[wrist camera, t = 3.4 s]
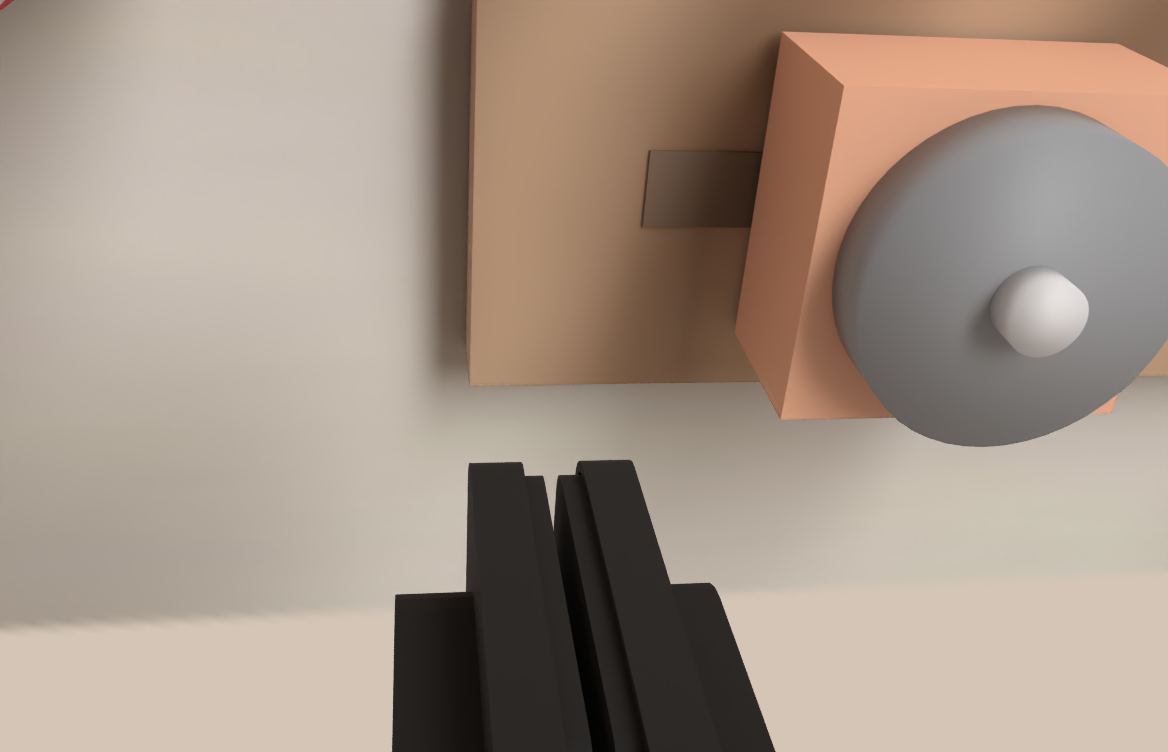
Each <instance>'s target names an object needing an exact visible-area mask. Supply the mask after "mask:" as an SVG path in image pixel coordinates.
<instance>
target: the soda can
mask: <svg viewBox="0 0 1168 752" xmlns="http://www.w3.org/2000/svg"><path fill="white" fill-rule="evenodd" d="M12 1H13V0H0V10H1V9H3V8H4V7H5V6H7V5H8V4H9V3H10V2H12Z"/></svg>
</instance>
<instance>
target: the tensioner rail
mask: <svg viewBox="0 0 1168 752" xmlns="http://www.w3.org/2000/svg"><path fill="white" fill-rule="evenodd" d="M782 31H783V32H810V33H838V34H866V35H893V36H921V37H948V38H976V39H1004V40H1031V41H1059V42H1086V43H1114V44H1120V45H1122V46H1124V47H1126V48H1128V49H1130V50H1132V51H1134V52H1136V53H1138V54H1140V55H1143V56H1145V57H1147V58H1149V59H1151V60H1153V61H1155V62H1157V63H1159V64H1161V65H1163V66H1165V67H1167V68H1168V0H472V4H471V63H470V122H469V181H468V240H467V300H466V354H467V364H468V374H469V384H470V386H493V385H560V384H627V383H695V382H760V380H759V378H758V376H757V374H756V372H755V370H754V368H753V366H752V365H751V363H750V361H749V359H748V357H747V355H746V353H745V351H744V349H743V348H742V346H741V344H740V342H739V340H738V338H737V336H736V334H735V327H736V320H737V314H738V308H739V301H740V295H741V289H742V282H743V276H744V270H745V263H746V257H747V251H748V244H749V238H750V232H751V225H752V219H753V213H754V206H755V200H756V194H757V187H758V181H759V175H760V168H761V162H762V155H763V149H764V143H765V136H766V130H767V124H768V117H769V111H770V105H771V98H772V92H773V86H774V79H775V73H776V67H777V60H778V54H779V48H780V41H781V35H782ZM1166 375H1168V339H1167V341H1166V342H1165V344H1164V345H1163V346H1162V348H1161V349H1160V350H1159V352H1158V353H1157V354H1156V356H1155V357H1154V358H1153V360H1152V361H1151V362H1150V363H1149V364H1148V365H1147V366H1146V367H1145V369H1144V370H1143V371H1142V372H1141V373H1140V374H1139V375H1138V376H1166Z"/></svg>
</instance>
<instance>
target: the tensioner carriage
mask: <svg viewBox="0 0 1168 752" xmlns="http://www.w3.org/2000/svg"><path fill="white" fill-rule="evenodd" d="M735 334H736V336H737V338H738V340H739V342H740V344H741V346H742V348H743V349H744V351H745V353H746V355H747V357H748V359H749V361H750V363H751V365H752V366H753V368H754V370H755V372H756V374H757V376H758V378H759V380H760V382H761V384H762V385H763V387H764V389H765V391H766V393H767V395H768V397H769V399H770V401H771V402H772V404H773V406H774V408H775V410H776V412H777V414H778V416H779V418H780V419H781V420H795V419H844V418H893V417H895V418H896V419H897V420H898V421H899V422H901V423H902V424H904V425H905V426H907V427H908V428H910V429H911V430H913V431H915V432H917V433H919V434H921V435H923V436H926V437H928V438H931V439H934V440H937V441H941V442H944V443H948V444H954V445H961V446H975V447H988V446H1000V445H1008V444H1013V443H1018V442H1023V441H1027V440H1031V439H1034V438H1037V437H1041V436H1044V435H1047V434H1049V433H1052V432H1054V431H1057V430H1059V429H1062V428H1064V427H1066V426H1068V425H1070V424H1072V423H1074V422H1076V421H1078V420H1080V419H1082V418H1084V417H1085V416H1087V415H1088V414H1090V413H1111V412H1112V409H1113V406H1114V404H1115V401H1116V398H1117V395H1118V393H1120V392H1121V391H1122V390H1123V389H1124V388H1125V387H1126V386H1127V385H1129V384H1130V383H1131V382H1132V381H1133V380H1134V379H1135V378H1136V377H1137V376H1138V375H1139V374H1140V373H1141V372H1142V371H1143V370H1144V369H1145V367H1146V366H1147V365H1148V364H1149V363H1150V362H1151V361H1152V360H1153V358H1154V357H1155V356H1156V354H1157V353H1158V352H1159V350H1160V349H1161V348H1162V346H1163V345H1164V344H1165V342H1166V341H1167V339H1168V68H1167V67H1165V66H1163V65H1161V64H1159V63H1157V62H1155V61H1153V60H1151V59H1149V58H1147V57H1145V56H1143V55H1140V54H1138V53H1136V52H1134V51H1132V50H1130V49H1128V48H1126V47H1124V46H1122V45H1120V44H1114V43H1086V42H1059V41H1031V40H1004V39H976V38H948V37H921V36H893V35H866V34H838V33H810V32H783V31H782V35H781V41H780V48H779V54H778V60H777V67H776V73H775V79H774V86H773V92H772V98H771V105H770V111H769V117H768V124H767V130H766V136H765V143H764V149H763V155H762V162H761V168H760V175H759V181H758V187H757V194H756V200H755V206H754V213H753V219H752V225H751V232H750V238H749V244H748V251H747V257H746V263H745V270H744V276H743V282H742V289H741V295H740V301H739V308H738V314H737V320H736V327H735Z"/></svg>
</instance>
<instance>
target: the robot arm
mask: <svg viewBox="0 0 1168 752" xmlns="http://www.w3.org/2000/svg"><path fill="white" fill-rule="evenodd" d="M394 633H395V634H394V635H395V636H394V685H393V686H394V687H393V737H392V752H775V749H774V747H773V744H772V741H771V738H770V736H769V733H768V730H767V727H766V724H765V722H764V719H763V716H762V713H761V710H760V708H759V705H758V702H757V699H756V697H755V694H754V691H753V688H752V685H751V683H750V680H749V677H748V675H747V672H746V669H745V666H744V663H743V660H742V658H741V655H740V652H739V649H738V647H737V644H736V641H735V638H734V635H733V633H732V630H731V627H730V624H729V622H728V619H727V616H726V613H725V611H724V608H723V605H722V602H721V599H720V597H719V595H718V593H717V591H716V589H715V587H714V586H713V585H712V584H710V583H692V584H670V581H669V577H668V574H667V571H666V568H665V564H664V561H663V558H662V555H661V551H660V548H659V545H658V542H657V538H656V535H655V532H654V529H653V525H652V522H651V519H650V516H649V512H648V509H647V506H646V503H645V499H644V496H643V493H642V490H641V486H640V483H639V480H638V477H637V473H636V470H635V467H634V465H633V462H632V461H631V460H601V461H579V462H578V463H577V467H576V474H575V475H559V476H558V479H557V487H556V502H555V517H554V532H553V526H552V520H551V515H550V509H549V504H548V498H547V493H546V487H545V482H544V477H543V476H525V474H524V468H523V464H522V462H504V463H469V469H468V510H467V567H466V592H453V593H427V594H400V595H395V630H394Z"/></svg>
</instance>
